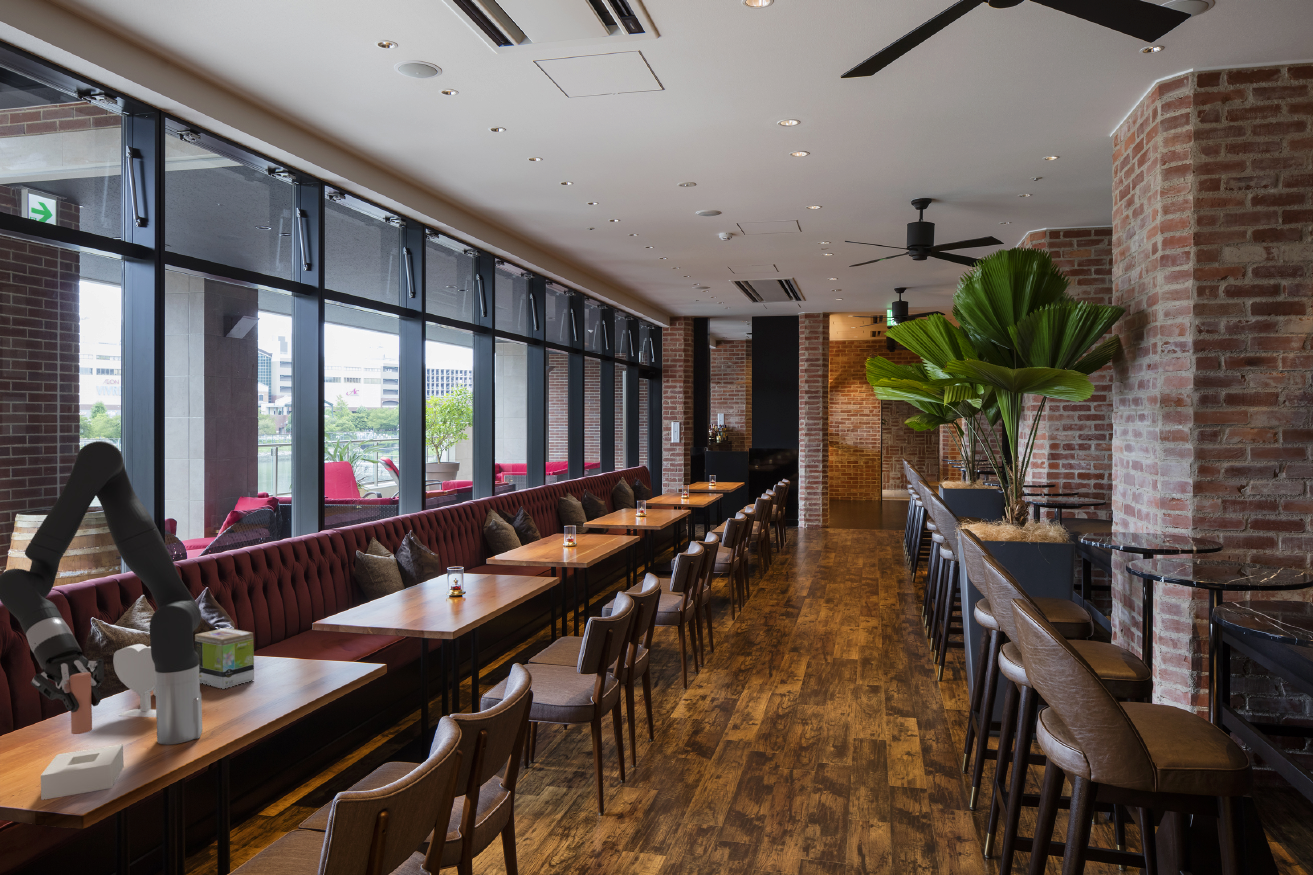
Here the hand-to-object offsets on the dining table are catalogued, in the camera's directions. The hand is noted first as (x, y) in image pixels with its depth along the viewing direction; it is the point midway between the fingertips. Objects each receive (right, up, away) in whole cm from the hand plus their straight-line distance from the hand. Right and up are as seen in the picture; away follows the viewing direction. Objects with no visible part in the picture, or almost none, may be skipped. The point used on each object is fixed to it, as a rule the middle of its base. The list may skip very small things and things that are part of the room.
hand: (86, 706), depth 169 cm
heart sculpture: (-16, -17, +44) cm, 49 cm away
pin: (-2, -6, +1) cm, 6 cm away
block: (-1, -17, +1) cm, 17 cm away
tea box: (-8, -16, +70) cm, 72 cm away
